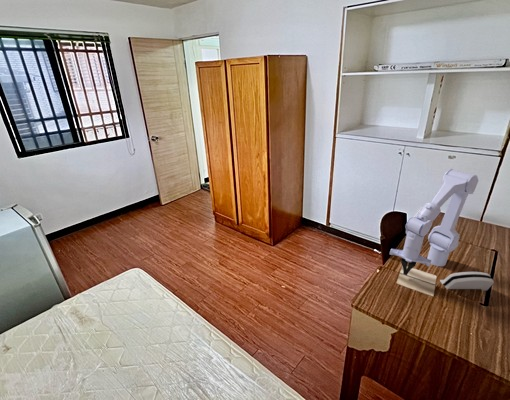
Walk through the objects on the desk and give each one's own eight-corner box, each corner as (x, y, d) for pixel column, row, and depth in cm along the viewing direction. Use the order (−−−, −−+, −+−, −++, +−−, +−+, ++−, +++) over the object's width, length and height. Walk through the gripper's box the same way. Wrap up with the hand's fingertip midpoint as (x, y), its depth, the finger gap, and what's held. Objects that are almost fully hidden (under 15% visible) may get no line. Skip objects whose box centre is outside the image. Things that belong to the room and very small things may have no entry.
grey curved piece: (478, 281, 112) (492, 268, 105) (485, 292, 109) (500, 279, 102) (437, 281, 113) (448, 269, 106) (442, 292, 110) (454, 280, 103)
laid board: (402, 267, 122) (402, 264, 121) (435, 278, 115) (436, 275, 114) (399, 275, 117) (399, 273, 116) (434, 287, 110) (435, 285, 109)
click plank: (398, 276, 117) (399, 273, 116) (434, 288, 110) (435, 285, 109) (395, 285, 111) (396, 283, 111) (432, 298, 104) (433, 296, 104)
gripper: (390, 245, 108) (384, 272, 114) (433, 257, 101) (424, 285, 106) (394, 237, 113) (388, 263, 119) (434, 248, 106) (426, 275, 112)
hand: (405, 273), depth 113 cm, fingers closed
